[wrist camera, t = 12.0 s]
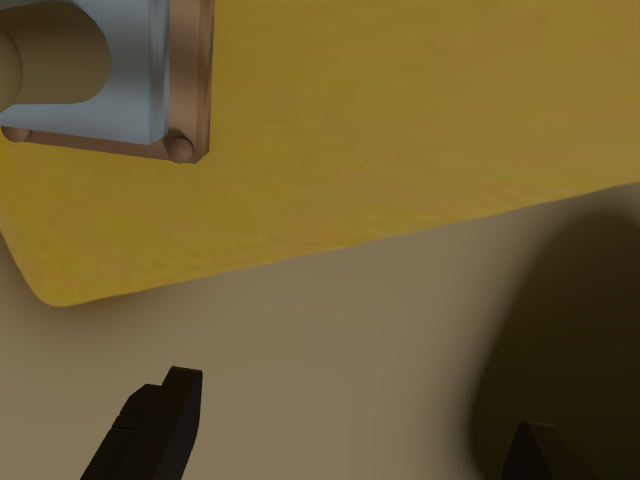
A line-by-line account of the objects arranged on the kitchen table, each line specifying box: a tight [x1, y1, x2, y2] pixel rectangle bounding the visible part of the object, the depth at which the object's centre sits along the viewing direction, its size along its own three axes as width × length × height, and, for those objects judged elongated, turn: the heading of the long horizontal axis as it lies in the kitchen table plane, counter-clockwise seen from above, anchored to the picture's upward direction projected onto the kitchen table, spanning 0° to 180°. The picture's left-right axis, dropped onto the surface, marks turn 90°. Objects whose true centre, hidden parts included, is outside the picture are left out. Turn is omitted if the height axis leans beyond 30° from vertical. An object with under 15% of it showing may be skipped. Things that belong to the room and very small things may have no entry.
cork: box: [0, 0, 110, 113], centre depth 27 cm, size 6×6×11 cm
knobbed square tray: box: [0, 0, 214, 164], centre depth 36 cm, size 14×14×8 cm
